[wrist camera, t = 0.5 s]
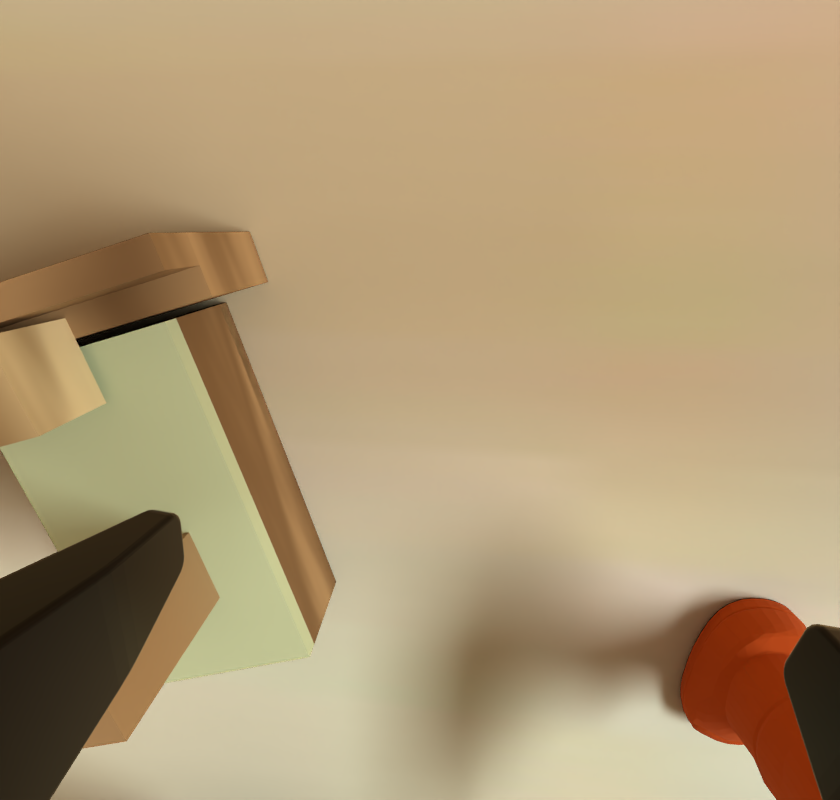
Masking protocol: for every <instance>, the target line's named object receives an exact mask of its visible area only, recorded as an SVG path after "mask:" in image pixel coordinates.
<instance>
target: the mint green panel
mask: <svg viewBox="0 0 840 800" xmlns="http://www.w3.org/2000/svg"><path fill="white" fill-rule="evenodd" d="M80 349H81V351H82V354H83V356H84V358H85V360H86V362H87V364H88V366H89V368H90V370H91V372H92V374H93V376H94V378H95V380H96V382H97V384H98V386H99V388H100V391H101V393H102V395H103V397H104V399H105V401H106V404H104V405H102V406H100V407H98V408H96V409H94V410H92V411H90V412H88V413H85V414H83V415H81V416H79V417H77V418H75V419H73V420H71V421H69V422H67V423H65V424H63V425H61V426H59V427H57V428H55V429H53V430H51V431H49V432H47V433H45V434H43V435H41V436H38V437H35V438H31V439H28V440H24V441H20V442H17V443H13V444H9V445H6V446H2V447H0V450H1V452H2V453H3V455H4V457H5V459H6V460H7V462H8V464H9V466H10V467H11V469H12V471H13V473H14V475H15V476H16V478H17V480H18V482H19V483H20V485H21V487H22V489H23V491H24V492H25V494H26V496H27V498H28V499H29V501H30V503H31V505H32V506H33V508H34V510H35V512H36V514H37V515H38V517H39V519H40V521H41V522H42V524H43V526H44V528H45V530H46V531H47V533H48V535H49V537H50V538H51V540H52V542H53V544H54V545H55V547H56V549H57V551H58V552H59V551H61V550H63V549H65V548H67V547H69V546H71V545H74V544H76V543H78V542H80V541H82V540H84V539H86V538H89V537H91V536H93V535H95V534H97V533H99V532H101V531H104V530H106V529H108V528H110V527H112V526H114V525H117V524H119V523H121V522H123V521H125V520H127V519H129V518H132V517H134V516H136V515H138V514H140V513H142V512H145V511H147V510H159V511H165V512H171V513H175V514H176V515H178V516H179V518H180V521H181V528H182V538H183V547H184V564H183V568H182V570H181V573H180V575H179V577H178V579H177V581H176V583H175V585H174V587H173V589H172V591H171V593H170V595H169V597H168V599H167V601H166V603H165V605H164V607H163V609H162V611H161V613H160V615H159V617H158V619H157V621H156V623H155V625H154V627H153V629H152V631H151V633H150V635H149V637H148V639H147V641H146V643H145V645H144V647H143V649H142V651H141V653H140V655H139V656H138V658H137V660H136V662H135V664H134V666H133V668H132V669H131V671H130V673H129V675H128V676H127V678H126V680H125V681H124V683H123V685H122V686H121V688H120V690H119V691H118V693H117V694H116V696H115V697H114V699H113V701H112V702H111V704H110V705H109V707H108V709H107V710H106V712H105V713H104V715H103V716H102V718H101V720H100V721H99V723H98V724H97V726H96V727H95V729H94V731H93V732H92V734H91V735H90V737H89V739H88V740H87V742H86V743H85V745H84V746H83V748H88V747H94V746H100V745H106V744H113V743H119V742H125V741H127V740H128V738H129V737H130V735H131V734H132V732H133V731H134V729H135V728H136V726H137V724H138V723H139V721H140V720H141V718H142V717H143V715H144V714H145V712H146V711H147V709H148V708H149V706H150V704H151V703H152V701H153V700H154V698H155V697H156V695H157V694H158V692H159V691H160V689H161V688H162V686H163V684H164V683H169V682H174V681H180V680H185V679H191V678H197V677H202V676H208V675H213V674H219V673H224V672H230V671H235V670H241V669H246V668H252V667H257V666H263V665H268V664H274V663H279V662H285V661H290V660H296V659H301V658H307V657H310V655H311V652H312V649H313V646H314V642H313V640H312V637H311V635H310V633H309V630H308V628H307V626H306V623H305V621H304V619H303V616H302V614H301V611H300V609H299V607H298V604H297V602H296V600H295V597H294V595H293V593H292V590H291V588H290V586H289V583H288V581H287V578H286V576H285V574H284V571H283V569H282V567H281V564H280V562H279V560H278V557H277V555H276V553H275V550H274V548H273V545H272V543H271V541H270V538H269V536H268V534H267V531H266V529H265V527H264V524H263V522H262V520H261V517H260V515H259V513H258V510H257V508H256V505H255V503H254V501H253V498H252V496H251V494H250V491H249V489H248V487H247V484H246V482H245V480H244V477H243V475H242V472H241V470H240V468H239V465H238V463H237V461H236V458H235V456H234V454H233V451H232V449H231V447H230V444H229V442H228V439H227V437H226V435H225V432H224V430H223V428H222V425H221V423H220V421H219V418H218V416H217V414H216V411H215V409H214V406H213V404H212V402H211V399H210V397H209V395H208V392H207V390H206V388H205V385H204V383H203V381H202V378H201V376H200V374H199V371H198V369H197V366H196V364H195V362H194V359H193V357H192V355H191V352H190V350H189V348H188V345H187V343H186V341H185V338H184V336H183V333H182V331H181V329H180V326H179V324H178V322H177V319H176V318H175V319H172V320H168V321H165V322H162V323H158V324H155V325H152V326H148V327H145V328H142V329H138V330H135V331H132V332H128V333H125V334H122V335H118V336H115V337H112V338H108V339H105V340H102V341H98V342H95V343H92V344H88V345H85V346H82V347H80Z"/></svg>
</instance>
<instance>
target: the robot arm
mask: <svg viewBox="0 0 840 800" xmlns="http://www.w3.org/2000/svg"><path fill="white" fill-rule="evenodd" d="M183 564H184V547H183V538H182V528H181V521H180V518H179V516H178V515H176V514H175V513H171V512H165V511H159V510H147V511H145V512H142V513H140V514H138V515H136V516H134V517H132V518H129V519H127V520H125V521H123V522H121V523H119V524H117V525H114V526H112V527H110V528H108V529H106V530H104V531H101V532H99V533H97V534H95V535H93V536H91V537H89V538H86V539H84V540H82V541H80V542H78V543H76V544H74V545H71V546H69V547H67V548H65V549H63V550H61V551H59V552H56V553H54V554H52V555H50V556H48V557H46V558H43V559H41V560H39V561H37V562H35V563H33V564H31V565H28V566H26V567H24V568H22V569H20V570H18V571H16V572H13V573H11V574H9V575H7V576H5V577H3V578H1V579H0V800H50V799H51V797H52V795H53V794H54V792H55V791H56V789H57V788H58V786H59V784H60V783H61V781H62V780H63V778H64V777H65V775H66V773H67V772H68V770H69V769H70V767H71V765H72V764H73V762H74V761H75V759H76V758H77V756H78V754H79V753H80V751H81V750H82V748H83V746H84V745H85V743H86V742H87V740H88V739H89V737H90V735H91V734H92V732H93V731H94V729H95V727H96V726H97V724H98V723H99V721H100V720H101V718H102V716H103V715H104V713H105V712H106V710H107V709H108V707H109V705H110V704H111V702H112V701H113V699H114V697H115V696H116V694H117V693H118V691H119V690H120V688H121V686H122V685H123V683H124V681H125V680H126V678H127V676H128V675H129V673H130V671H131V669H132V668H133V666H134V664H135V662H136V660H137V658H138V656H139V655H140V653H141V651H142V649H143V647H144V645H145V643H146V641H147V639H148V637H149V635H150V633H151V631H152V629H153V627H154V625H155V623H156V621H157V619H158V617H159V615H160V613H161V611H162V609H163V607H164V605H165V603H166V601H167V599H168V597H169V595H170V593H171V591H172V589H173V587H174V585H175V583H176V581H177V579H178V577H179V575H180V573H181V570H182V568H183ZM784 681H785V685H786V688H787V691H788V694H789V697H790V700H791V704H792V707H793V710H794V713H795V716H796V720H797V723H798V726H799V729H800V732H801V735H802V739H803V742H804V745H805V748H806V751H807V754H808V758H809V761H810V764H811V767H812V770H813V774H814V777H815V780H816V783H817V786H818V789H819V792H820V795H821V798H822V800H840V628H837V627H832V626H826V625H820V624H814V625H811V626H809V627H807V628H806V630H805V631H804V633H803V634H802V636H801V637H800V639H799V641H798V642H797V644H796V645H795V647H794V649H793V650H792V652H791V653H790V655H789V657H788V658H787V660H786V662H785V665H784Z"/></svg>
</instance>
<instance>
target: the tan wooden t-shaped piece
mask: <svg viewBox="0 0 840 800" xmlns="http://www.w3.org/2000/svg"><path fill="white" fill-rule="evenodd" d="M266 282H268V280H267V278H266V275H265V272H264V270H263V267H262V264H261V261H260V259H259V256H258V253H257V250H256V248H255V245H254V242H253V239H252V237H251V234H250V232H189V233H147V234H144V235H141V236H138V237H135V238H132V239H129V240H126V241H123V242H120V243H117V244H114V245H111V246H108V247H105V248H102V249H99V250H96V251H93V252H90V253H87V254H84V255H81V256H78V257H75V258H72V259H69V260H66V261H63V262H60V263H57V264H54V265H51V266H48V267H45V268H42V269H39V270H36V271H33V272H30V273H27V274H24V275H21V276H18V277H15V278H12V279H9V280H6V281H3V282H0V333H1V332H6V331H10V330H15V329H19V328H23V327H28V326H32V325H37V324H41V323H46V322H50V321H55V320H59V319H64V318H65V319H66V321H67V323H68V325H69V327H70V329H71V331H72V333H73V335H74V337H75V339H76V340H78V339H81V338H85V337H88V336H91V335H95V334H98V333H101V332H104V331H108V330H111V329H114V328H118V327H121V326H124V325H127V324H131V323H134V322H137V321H141V320H144V319H147V318H151V317H154V316H157V315H160V314H164V313H167V312H170V311H174V310H177V309H180V308H183V307H187V306H190V305H193V304H197V303H200V302H203V301H206V300H210V299H213V298H216V297H220V296H223V295H226V294H230V293H233V292H236V291H239V290H243V289H246V288H249V287H253V286H256V285H259V284H262V283H266ZM173 319H175V318H173ZM176 319H177V322H178V324H179V326H180V329H181V331H182V333H183V336H184V338H185V341H186V343H187V345H188V348H189V350H190V352H191V355H192V357H193V359H194V362H195V364H196V366H197V369H198V371H199V374H200V376H201V378H202V381H203V383H204V385H205V388H206V390H207V392H208V395H209V397H210V399H211V402H212V404H213V406H214V409H215V411H216V414H217V416H218V418H219V421H220V423H221V425H222V428H223V430H224V432H225V435H226V437H227V439H228V442H229V444H230V447H231V449H232V451H233V454H234V456H235V458H236V461H237V463H238V465H239V468H240V470H241V472H242V475H243V477H244V480H245V482H246V484H247V487H248V489H249V491H250V494H251V496H252V498H253V501H254V503H255V505H256V508H257V510H258V513H259V515H260V517H261V520H262V522H263V524H264V527H265V529H266V531H267V534H268V536H269V538H270V541H271V543H272V545H273V548H274V550H275V553H276V555H277V557H278V560H279V562H280V564H281V567H282V569H283V571H284V574H285V576H286V578H287V581H288V583H289V586H290V588H291V590H292V593H293V595H294V597H295V600H296V602H297V604H298V607H299V609H300V611H301V614H302V616H303V619H304V621H305V623H306V626H307V628H308V630H309V633H310V635H311V637H312V640H313V642H314V643H315V640H316V637H317V635H318V632H319V629H320V626H321V623H322V620H323V617H324V615H325V612H326V609H327V606H328V603H329V600H330V597H331V595H332V592H333V589H334V586H335V583H336V581H335V578H334V576H333V573H332V570H331V568H330V565H329V563H328V560H327V558H326V555H325V553H324V550H323V548H322V545H321V542H320V540H319V537H318V535H317V532H316V530H315V527H314V525H313V522H312V520H311V517H310V514H309V512H308V509H307V507H306V504H305V502H304V499H303V497H302V494H301V492H300V489H299V486H298V484H297V481H296V479H295V476H294V474H293V471H292V469H291V466H290V464H289V461H288V458H287V456H286V453H285V451H284V448H283V446H282V443H281V441H280V438H279V436H278V433H277V430H276V428H275V425H274V423H273V420H272V418H271V415H270V413H269V410H268V408H267V405H266V402H265V400H264V397H263V395H262V392H261V390H260V387H259V385H258V382H257V380H256V377H255V374H254V372H253V369H252V367H251V364H250V362H249V359H248V357H247V354H246V352H245V349H244V346H243V344H242V341H241V339H240V336H239V334H238V331H237V329H236V326H235V324H234V321H233V318H232V316H231V313H230V311H229V308H228V306H227V303H223V304H219V305H216V306H213V307H210V308H206V309H203V310H200V311H196V312H193V313H190V314H186V315H183V316H180V317H176ZM170 320H172V319H170ZM166 321H168V320H166ZM163 322H165V321H163ZM160 323H162V322H160ZM156 324H158V323H156ZM153 325H155V324H153ZM150 326H152V325H150ZM146 327H148V326H146ZM143 328H145V327H143ZM140 329H142V328H140ZM136 330H138V329H136ZM133 331H135V330H133ZM130 332H132V331H130ZM126 333H128V332H126ZM123 334H125V333H123ZM120 335H122V334H120ZM117 336H118V335H117ZM113 337H115V336H113ZM110 338H112V337H110ZM107 339H108V338H107ZM103 340H105V339H103ZM100 341H102V340H100ZM97 342H98V341H97ZM93 343H95V342H93ZM90 344H92V343H90ZM87 345H88V344H87ZM83 346H85V345H83ZM80 347H82V346H80Z"/></svg>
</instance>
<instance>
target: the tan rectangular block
mask: <svg viewBox="0 0 840 800" xmlns="http://www.w3.org/2000/svg"><path fill="white" fill-rule="evenodd" d="M104 404H106V401H105V399H104V397H103V395H102V393H101V391H100V388H99V386H98V384H97V382H96V380H95V378H94V376H93V374H92V372H91V370H90V368H89V366H88V364H87V362H86V360H85V358H84V356H83V354H82V351H81V349H80V347H79V345H78V343H77V341H76V339H75V337H74V335H73V333H72V331H71V329H70V327H69V325H68V323H67V321H66V319H65V318H64V319H59V320H55V321H50V322H46V323H41V324H37V325H32V326H28V327H23V328H19V329H15V330H10V331H6V332H1V333H0V447H2V446H6V445H9V444H13V443H17V442H20V441H24V440H28V439H31V438H35V437H38V436H41V435H43V434H45V433H47V432H49V431H51V430H53V429H55V428H57V427H59V426H61V425H63V424H65V423H67V422H69V421H71V420H73V419H75V418H77V417H79V416H81V415H83V414H85V413H88V412H90V411H92V410H94V409H96V408H98V407H100V406H102V405H104Z"/></svg>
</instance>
